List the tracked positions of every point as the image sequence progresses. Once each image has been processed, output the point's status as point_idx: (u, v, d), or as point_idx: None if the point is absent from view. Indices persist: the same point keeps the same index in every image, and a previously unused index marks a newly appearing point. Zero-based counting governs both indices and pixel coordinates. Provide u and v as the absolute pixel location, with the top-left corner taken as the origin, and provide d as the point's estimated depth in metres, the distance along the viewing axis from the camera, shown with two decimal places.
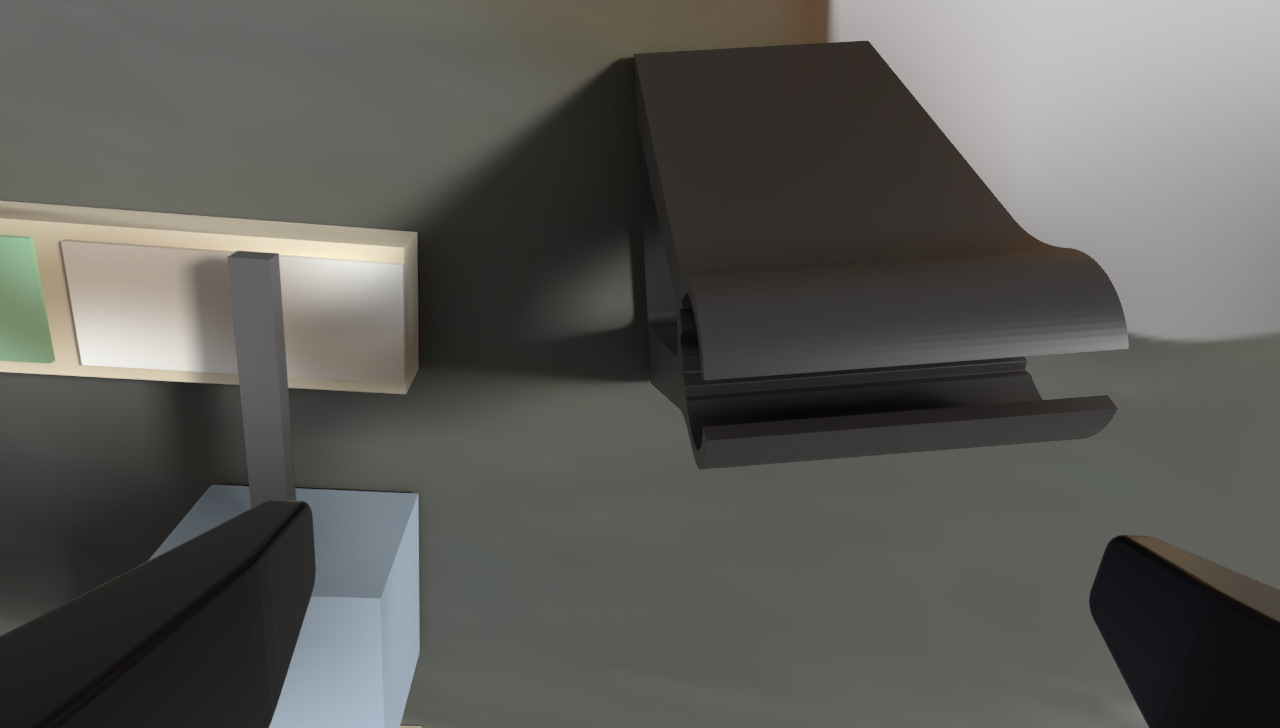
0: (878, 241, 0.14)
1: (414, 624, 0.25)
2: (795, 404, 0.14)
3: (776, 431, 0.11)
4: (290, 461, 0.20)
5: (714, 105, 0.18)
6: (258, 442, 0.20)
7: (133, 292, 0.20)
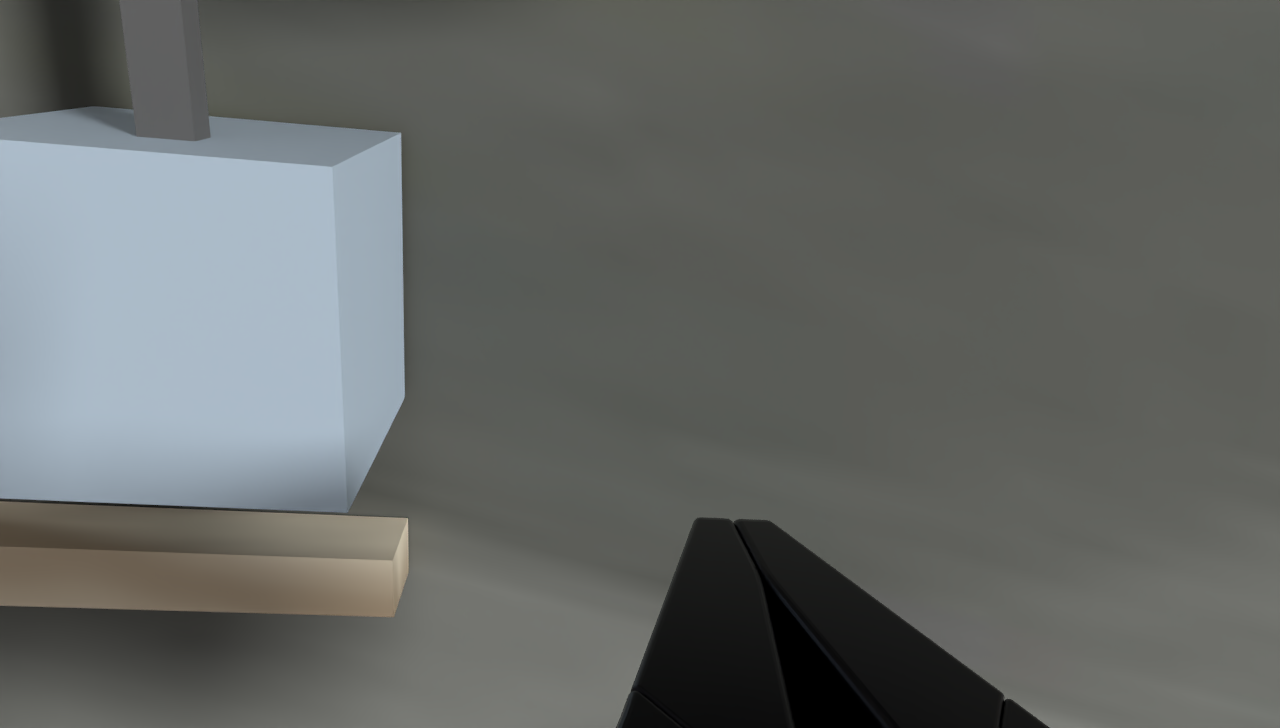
0: None
1: (396, 338, 0.17)
2: None
3: None
4: None
5: None
6: None
7: None
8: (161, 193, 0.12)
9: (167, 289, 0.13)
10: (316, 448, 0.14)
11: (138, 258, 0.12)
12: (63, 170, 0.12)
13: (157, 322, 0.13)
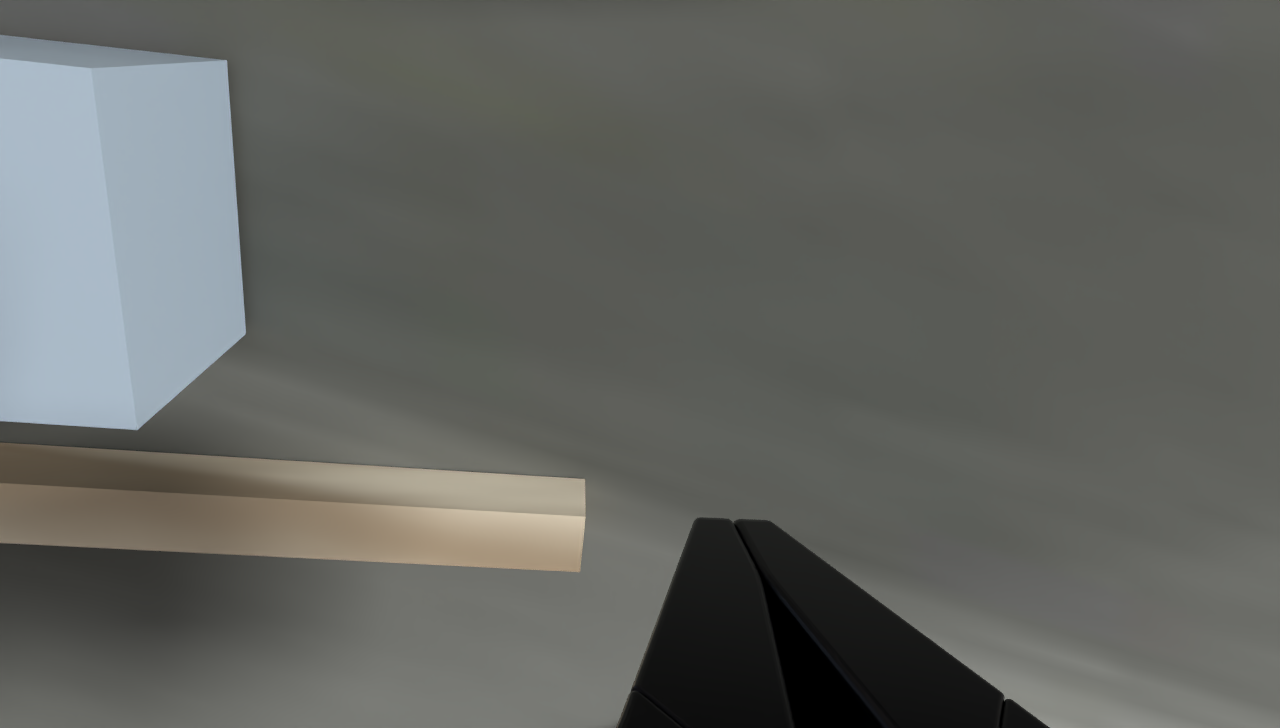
0: None
1: (226, 269, 0.17)
2: None
3: None
4: None
5: None
6: None
7: None
8: None
9: None
10: (99, 362, 0.14)
11: None
12: None
13: None
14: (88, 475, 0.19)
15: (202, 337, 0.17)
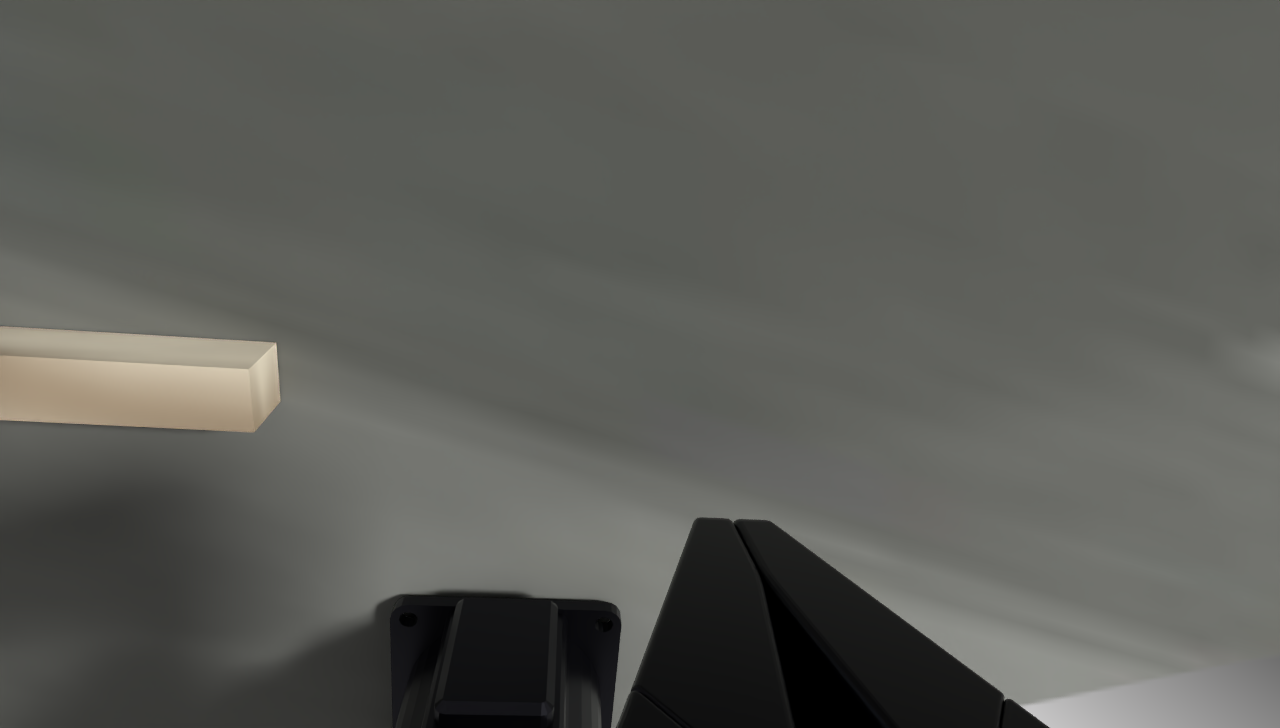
0: None
1: None
2: None
3: None
4: None
5: None
6: None
7: None
8: None
9: None
10: None
11: None
12: None
13: None
14: None
15: None
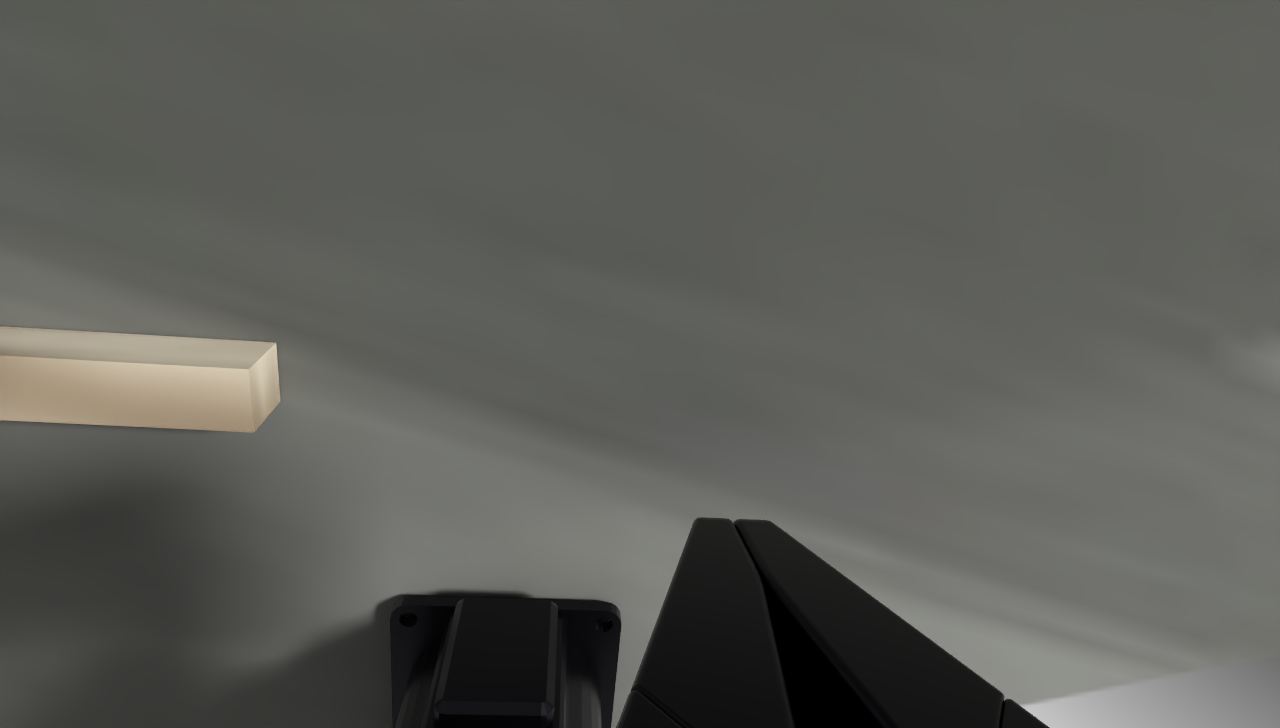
0: None
1: None
2: None
3: None
4: None
5: None
6: None
7: None
8: None
9: None
10: None
11: None
12: None
13: None
14: None
15: None
